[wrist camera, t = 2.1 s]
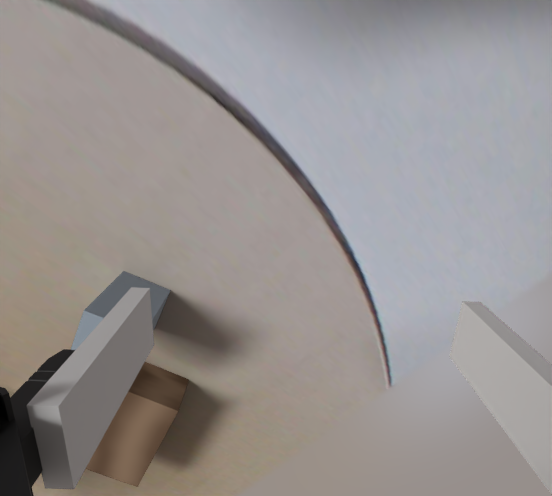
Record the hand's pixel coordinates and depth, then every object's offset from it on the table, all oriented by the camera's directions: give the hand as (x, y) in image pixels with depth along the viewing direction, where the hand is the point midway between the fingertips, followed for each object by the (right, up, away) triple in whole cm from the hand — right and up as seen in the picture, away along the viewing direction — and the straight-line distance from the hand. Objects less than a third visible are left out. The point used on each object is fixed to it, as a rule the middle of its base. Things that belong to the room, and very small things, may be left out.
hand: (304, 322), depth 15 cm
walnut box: (-19, -14, +27) cm, 36 cm away
